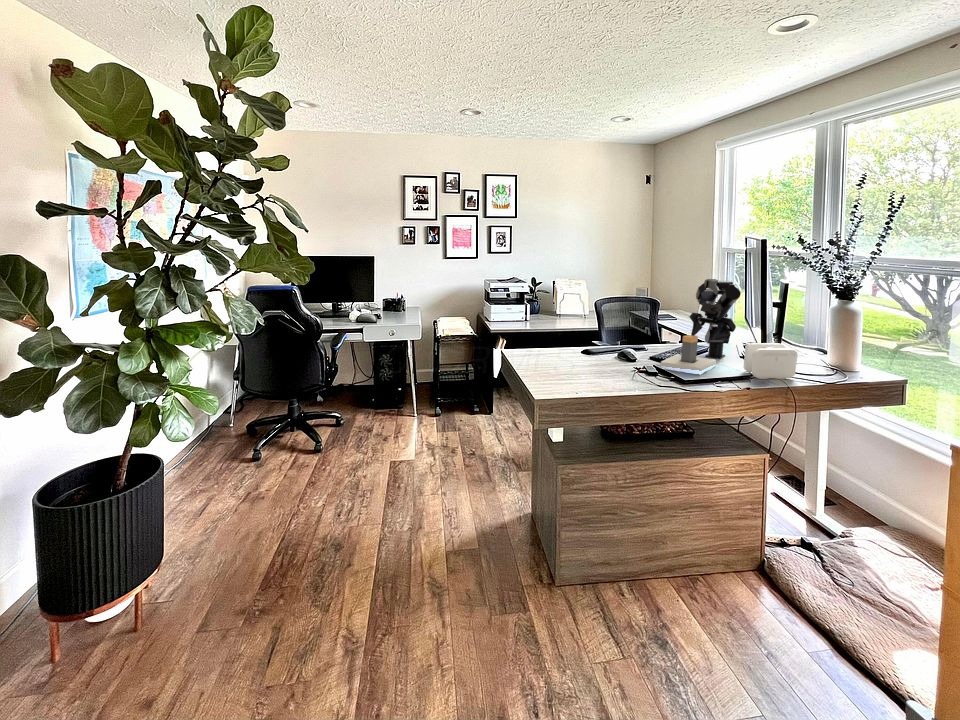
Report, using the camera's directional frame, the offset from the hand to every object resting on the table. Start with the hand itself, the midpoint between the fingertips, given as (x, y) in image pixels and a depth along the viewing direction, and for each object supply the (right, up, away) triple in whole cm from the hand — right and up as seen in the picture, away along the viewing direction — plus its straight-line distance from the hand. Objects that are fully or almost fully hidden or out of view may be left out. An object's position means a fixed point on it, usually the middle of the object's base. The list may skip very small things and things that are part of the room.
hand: (701, 338), depth 226 cm
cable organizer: (+20, -15, -14) cm, 29 cm away
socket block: (-6, -12, -1) cm, 13 cm away
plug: (-6, -12, -1) cm, 13 cm away
